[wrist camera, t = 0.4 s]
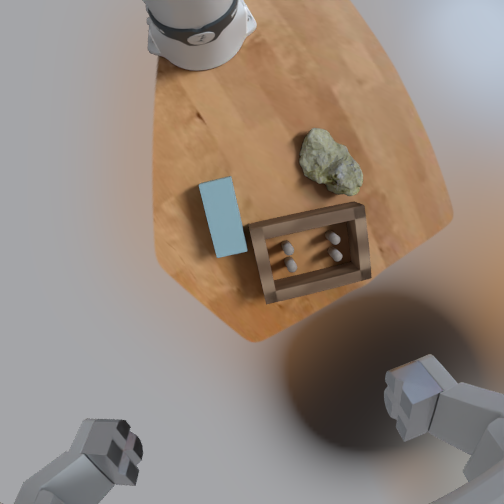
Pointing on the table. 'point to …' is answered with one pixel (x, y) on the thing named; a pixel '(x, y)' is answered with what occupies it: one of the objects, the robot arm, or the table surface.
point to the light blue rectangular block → (223, 216)
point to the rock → (330, 163)
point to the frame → (332, 275)
